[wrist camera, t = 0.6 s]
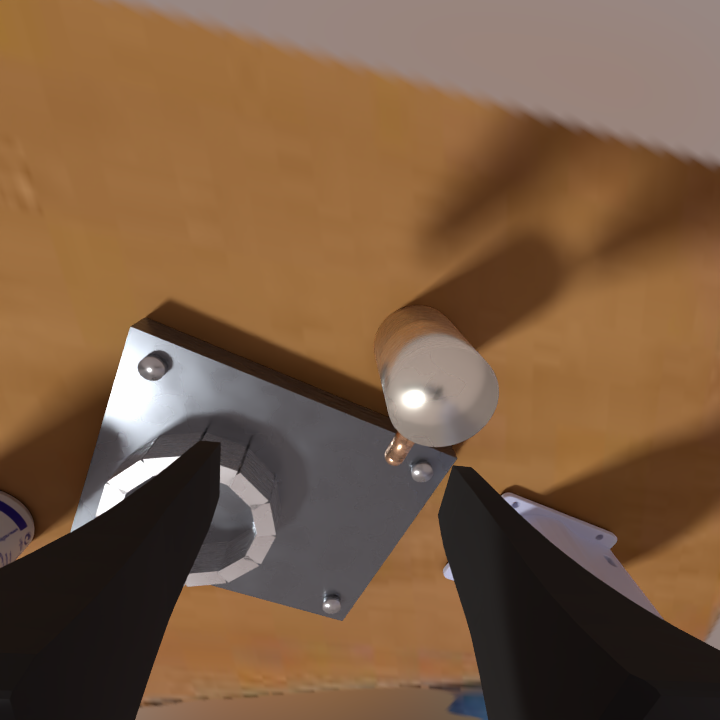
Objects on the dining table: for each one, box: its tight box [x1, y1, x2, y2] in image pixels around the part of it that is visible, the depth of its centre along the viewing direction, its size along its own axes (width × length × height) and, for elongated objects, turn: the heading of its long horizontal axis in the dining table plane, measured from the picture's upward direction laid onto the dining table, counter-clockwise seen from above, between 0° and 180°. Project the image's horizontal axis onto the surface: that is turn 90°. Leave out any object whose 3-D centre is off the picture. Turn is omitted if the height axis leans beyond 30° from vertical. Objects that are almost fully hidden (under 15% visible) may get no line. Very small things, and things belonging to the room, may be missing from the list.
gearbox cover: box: [71, 317, 457, 621], centre depth 22 cm, size 18×15×4 cm
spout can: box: [374, 305, 499, 466], centre depth 18 cm, size 4×6×6 cm
